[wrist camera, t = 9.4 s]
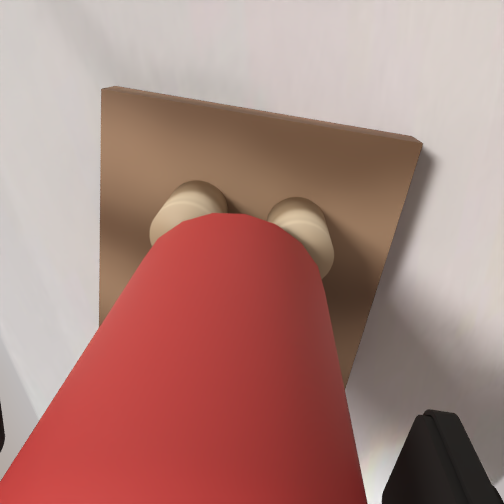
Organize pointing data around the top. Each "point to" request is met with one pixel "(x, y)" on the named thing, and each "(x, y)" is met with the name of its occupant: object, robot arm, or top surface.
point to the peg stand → (252, 190)
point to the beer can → (202, 384)
